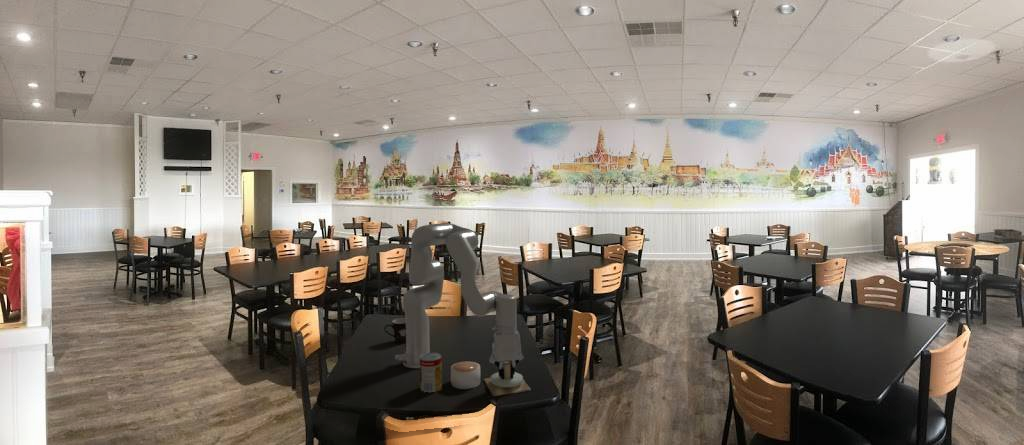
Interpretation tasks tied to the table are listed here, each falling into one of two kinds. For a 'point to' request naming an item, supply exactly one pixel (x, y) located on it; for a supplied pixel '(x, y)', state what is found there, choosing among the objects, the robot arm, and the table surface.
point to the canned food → (431, 372)
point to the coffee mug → (398, 330)
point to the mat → (506, 388)
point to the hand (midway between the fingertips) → (506, 376)
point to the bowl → (465, 375)
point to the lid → (506, 377)
